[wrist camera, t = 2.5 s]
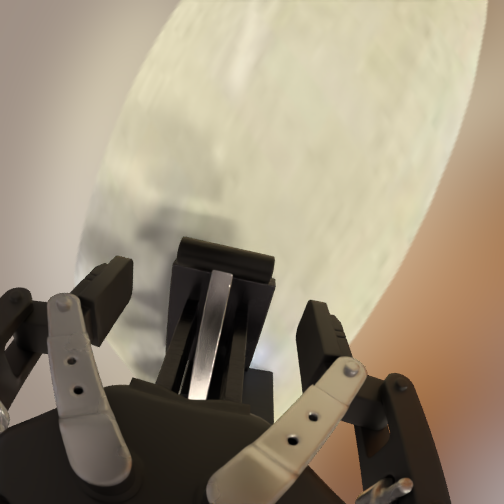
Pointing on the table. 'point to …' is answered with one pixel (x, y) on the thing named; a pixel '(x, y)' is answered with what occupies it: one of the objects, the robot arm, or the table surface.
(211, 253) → the switch lever
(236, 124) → the table surface
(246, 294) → the switch bracket
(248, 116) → the table surface
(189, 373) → the toaster body
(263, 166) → the table surface
